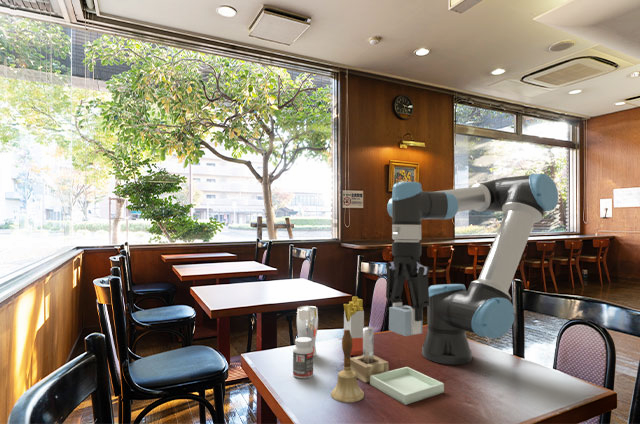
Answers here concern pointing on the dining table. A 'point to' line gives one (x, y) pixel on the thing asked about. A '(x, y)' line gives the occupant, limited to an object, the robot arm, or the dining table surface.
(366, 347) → the cylinder
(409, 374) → the tray
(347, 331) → the hand bell
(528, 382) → the dining table surface
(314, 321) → the beer glass
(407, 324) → the slate-blue block
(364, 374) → the oak block
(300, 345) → the pill bottle
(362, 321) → the french fries container
